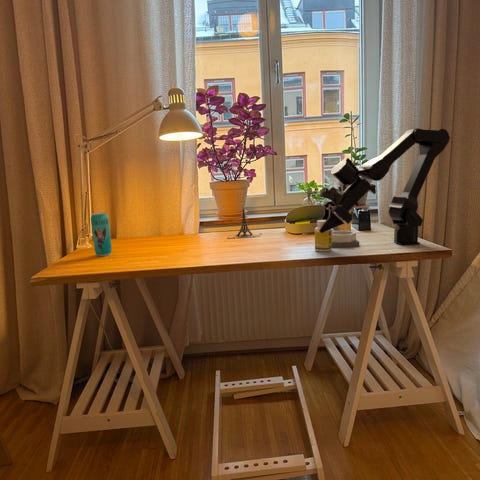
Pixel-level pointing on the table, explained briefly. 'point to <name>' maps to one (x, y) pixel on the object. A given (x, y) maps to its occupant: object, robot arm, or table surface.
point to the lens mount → (344, 239)
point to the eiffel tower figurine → (245, 230)
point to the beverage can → (101, 234)
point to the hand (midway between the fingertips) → (318, 230)
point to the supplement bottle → (322, 238)
